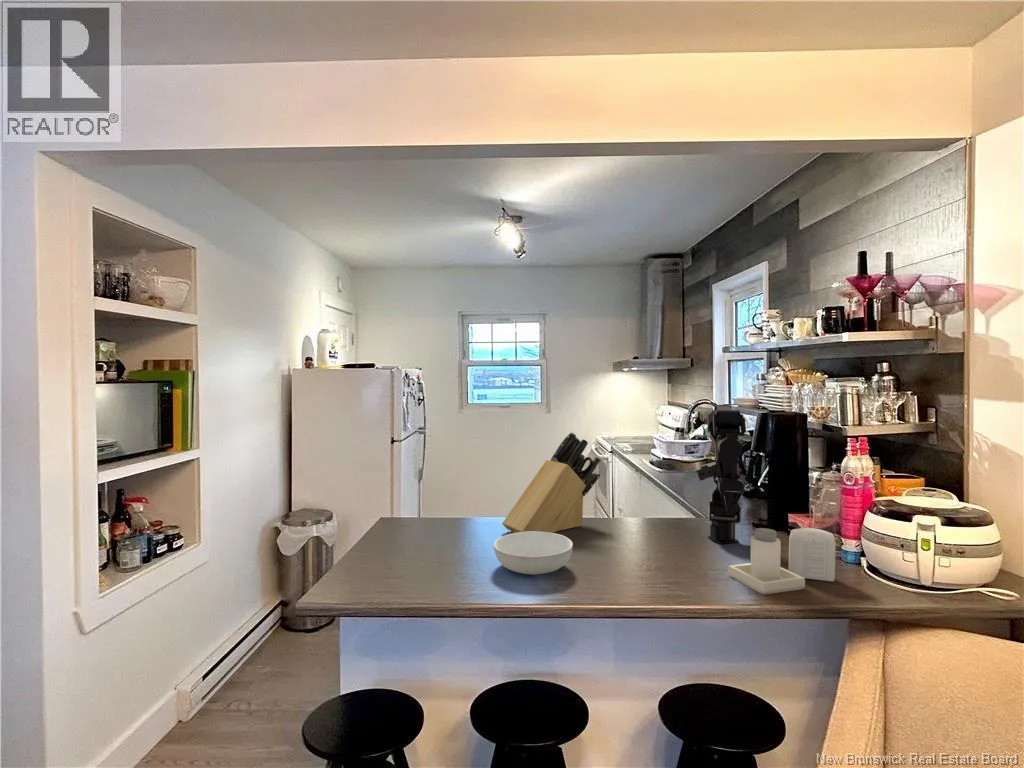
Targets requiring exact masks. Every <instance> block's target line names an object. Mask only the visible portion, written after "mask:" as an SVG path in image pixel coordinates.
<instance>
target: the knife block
mask: <svg viewBox="0 0 1024 768" xmlns="http://www.w3.org/2000/svg"><path fill="white" fill-rule="evenodd" d="M587 446H588V440H586V439H581V440H580V439H579V438H578V437H577V435H576V434H575V433H574V432H573V431H571V432H570V433H569V434H568V435H567V436H566V437H564V439H563V440H562V442H561V443H560V444H559V446H558V447H557V449H556V450H555V452H554V454H553V455H552V457H551V458H550V460H549V459H547V460H545V462H543V464H542V465H541V466H540V468H539V470H538V471H537V473H535V476H534V477H533V478H532V479H531V481H530V482H529V484H528V485H527V486H526V488H525V490H523V492H522V494H521V496H520V497H519V498H518V499H517V501H516V503H515V504H514V505H513V507H512V508H511V509H510V511H509V512H508V514H507V515H506V517H505V518H504V520H503V521H502V523H501V524H502V525H503V527H504V528H505V529H506V530H508V531H510V532H513V533H518V532H528V531H539V532H550V533H556V532H558V531H563V530H567V529H571V528H572V529H573V528H579V527H580V526H583V518H584V517H583V515H584V513H583V511H584V503H583V502H584V497H585V496H586V495H587V494H588V493H589V491H590V490H591V489H592V488H593V487H594V485H595V483H596V482H597V481H598V480H599V479H600V477H601V474H599V473H596V472H594V471H595V470H596V468H597V466H598V464H599V463H600V462H601V461H602V460H601V458H599V457H598V456H597V457H595V458H594V459H592V458H591V457H590V456H587V457H585V455H584V454H583V452H584V451H585V450H586V447H587ZM587 461H589V464H588V466H587V467H586V468H585V469H583V468H584V467H585V465H586V463H587Z"/></svg>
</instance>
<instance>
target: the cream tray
mask: <svg viewBox="0 0 1024 768" xmlns="http://www.w3.org/2000/svg"><path fill="white" fill-rule="evenodd" d="M727 569H728V570H727V571H728V576H729V577H730V578H733V579H734V580H736V581H738V582H740V583H741V584H743V585H745V586H747V587H748V588H750V589H752V590H754V591H756V592H758V593H759V594H761V595H770V594H777V593H784V592H791V591H799V590H805V589H806V578H803V577H801V576H799V575H797V574H795V573H793V572H790V571H789V569H786V568H784V567H781V566H780V580H774V581H766V582H763V581H761V580H759V579H757V578H755V577H753V576H751V562H748V563H740V564H731V565H728V568H727ZM728 576H727V577H728Z"/></svg>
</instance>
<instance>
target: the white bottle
mask: <svg viewBox="0 0 1024 768" xmlns="http://www.w3.org/2000/svg"><path fill="white" fill-rule="evenodd" d="M781 547H782V546H781V539H780V538H778V537H777V531H776V530H774V529H771V528H765V527H758V528H755V529H754V535H751V536H750V563H751V576H753V577H755V578H757V579H759V580H761V581H763V582H766V581H774V580H780V567H781Z"/></svg>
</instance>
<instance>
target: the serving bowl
mask: <svg viewBox="0 0 1024 768" xmlns="http://www.w3.org/2000/svg"><path fill="white" fill-rule="evenodd" d="M573 546H574V544H573V541H572V540H571V539H570V538H568V537H567V536H565V535H563V534H560V533H556V532H552V533H550V532H539V531H528V532H518V533H515V532H513V533H509V534H505V535H502V536H500V537H498V538H497V539H495V541H494V542H493V550H494V555H495V557H496V559H497V561H498V563H500V564H501V565H502V566H503V567H504V568H506V569H507V570H509V571H512V572H514V573H518V574H524V575H542V574H549V573H552V572H555V571H557V570H559V569H561V568H562V567H564V566H565V565H566V564H567V563H568V561H569V560H570V558H571V556H572V552H573Z"/></svg>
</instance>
